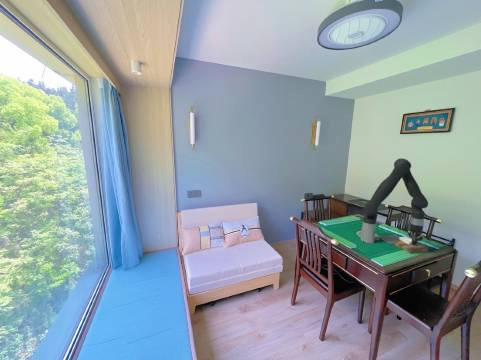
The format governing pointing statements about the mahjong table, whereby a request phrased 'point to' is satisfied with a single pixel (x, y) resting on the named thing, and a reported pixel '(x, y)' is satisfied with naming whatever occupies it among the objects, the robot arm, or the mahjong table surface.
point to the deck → (411, 247)
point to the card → (406, 240)
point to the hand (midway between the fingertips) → (414, 244)
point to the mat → (389, 238)
